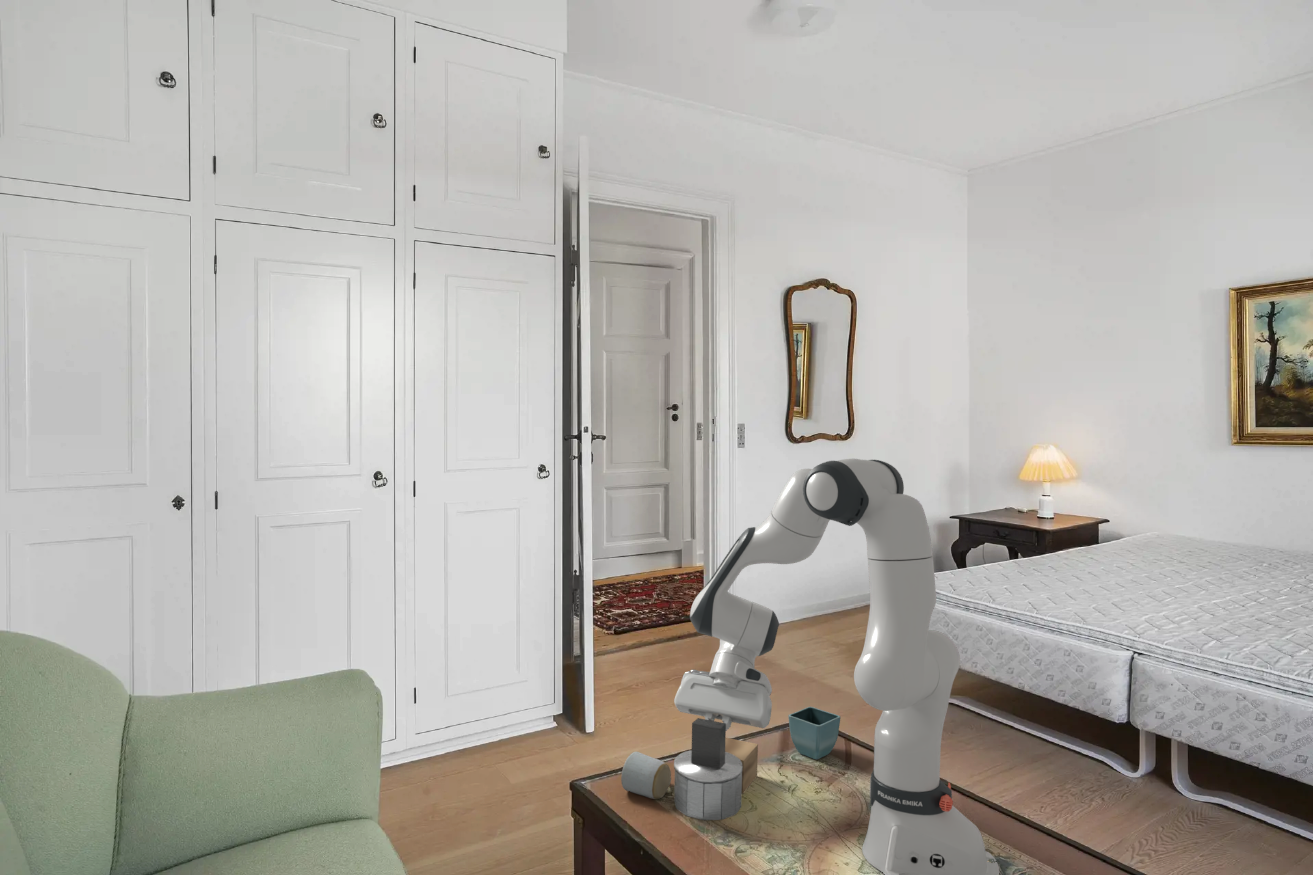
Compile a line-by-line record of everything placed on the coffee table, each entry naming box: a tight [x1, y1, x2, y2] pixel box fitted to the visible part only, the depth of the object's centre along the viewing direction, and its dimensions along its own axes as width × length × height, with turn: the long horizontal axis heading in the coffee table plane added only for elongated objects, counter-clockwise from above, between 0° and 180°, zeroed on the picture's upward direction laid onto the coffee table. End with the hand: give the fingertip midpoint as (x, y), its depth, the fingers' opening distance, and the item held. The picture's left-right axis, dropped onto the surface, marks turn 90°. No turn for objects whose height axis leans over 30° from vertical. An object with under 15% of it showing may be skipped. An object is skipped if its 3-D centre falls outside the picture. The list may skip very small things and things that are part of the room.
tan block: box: [725, 737, 759, 795], centre depth 166 cm, size 10×9×7 cm
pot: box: [673, 770, 743, 821], centre depth 156 cm, size 13×13×7 cm
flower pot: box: [788, 706, 841, 760], centre depth 180 cm, size 9×9×9 cm
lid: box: [673, 717, 742, 783], centre depth 155 cm, size 14×14×9 cm
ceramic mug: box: [620, 751, 672, 800], centre depth 161 cm, size 11×8×8 cm
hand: (712, 738), depth 157 cm, fingers closed, pressing on lid
